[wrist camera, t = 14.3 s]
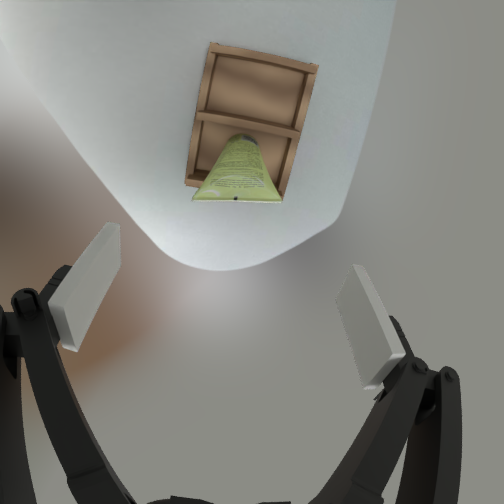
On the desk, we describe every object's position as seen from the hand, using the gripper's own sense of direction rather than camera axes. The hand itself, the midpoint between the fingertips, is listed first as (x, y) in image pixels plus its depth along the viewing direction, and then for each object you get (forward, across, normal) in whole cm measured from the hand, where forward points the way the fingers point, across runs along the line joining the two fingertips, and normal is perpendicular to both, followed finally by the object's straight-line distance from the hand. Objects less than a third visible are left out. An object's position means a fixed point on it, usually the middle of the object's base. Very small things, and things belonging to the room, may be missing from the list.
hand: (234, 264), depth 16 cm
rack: (+30, 0, +4) cm, 31 cm away
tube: (+29, 0, 0) cm, 29 cm away
